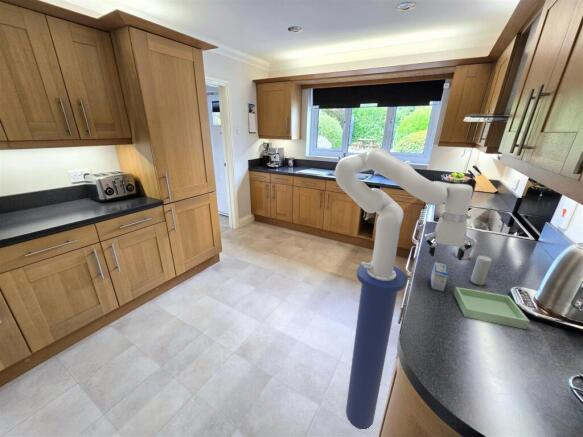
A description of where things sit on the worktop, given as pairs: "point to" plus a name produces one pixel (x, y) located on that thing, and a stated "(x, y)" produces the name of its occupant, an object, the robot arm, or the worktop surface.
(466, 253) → the dixie cup
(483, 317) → the tray
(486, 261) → the beverage can
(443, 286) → the medicine box
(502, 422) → the worktop surface
